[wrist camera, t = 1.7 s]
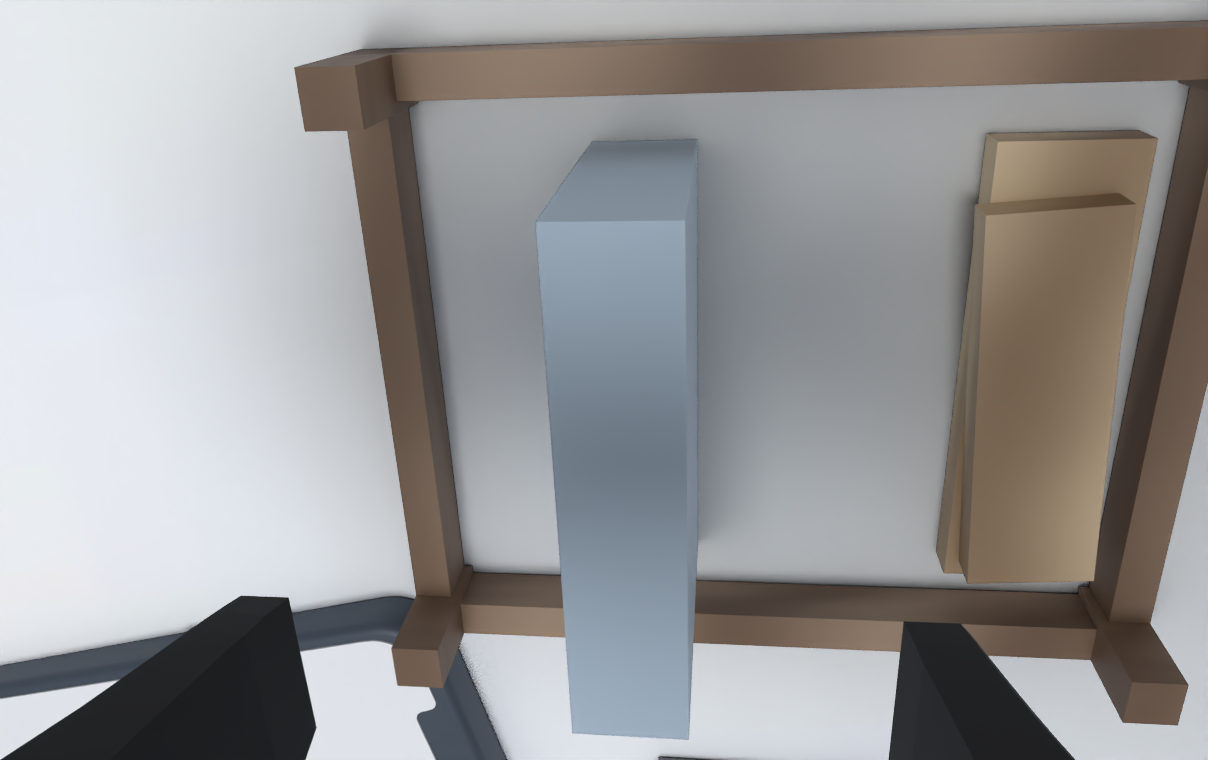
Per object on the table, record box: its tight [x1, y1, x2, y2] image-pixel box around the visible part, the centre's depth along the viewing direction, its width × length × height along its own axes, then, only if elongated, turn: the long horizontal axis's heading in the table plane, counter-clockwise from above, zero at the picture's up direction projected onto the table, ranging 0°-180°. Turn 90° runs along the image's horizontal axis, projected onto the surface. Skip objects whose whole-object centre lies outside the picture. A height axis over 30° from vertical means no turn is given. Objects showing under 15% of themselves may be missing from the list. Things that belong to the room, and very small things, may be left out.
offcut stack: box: [936, 130, 1158, 584], centre depth 18 cm, size 3×9×2 cm, turn 2°
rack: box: [294, 20, 1208, 725], centre depth 18 cm, size 16×13×3 cm
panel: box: [535, 139, 698, 740], centre depth 17 cm, size 2×9×6 cm, turn 3°
